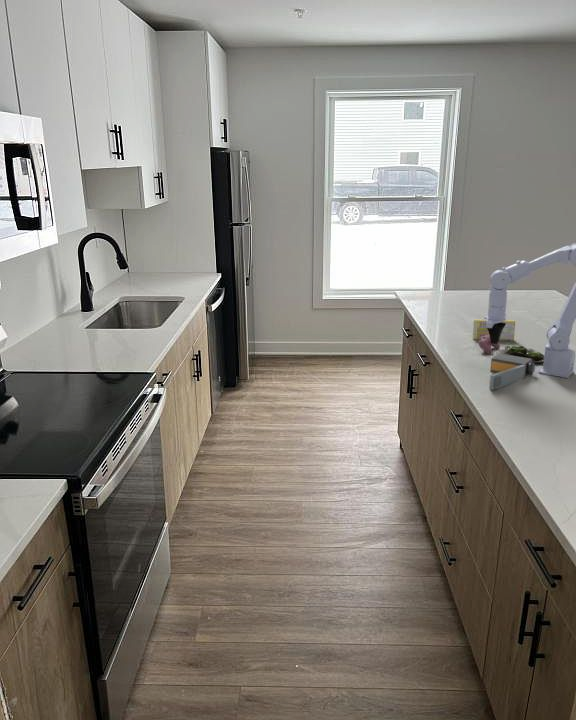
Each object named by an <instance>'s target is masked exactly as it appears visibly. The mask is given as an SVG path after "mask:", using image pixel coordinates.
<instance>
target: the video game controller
mask: <svg viewBox="0 0 576 720" xmlns="http://www.w3.org/2000/svg"><path fill="white" fill-rule="evenodd" d="M478 346H479V348H480V349H481V350H482V351H484V352H485V353H486V354H488V355H492V354H493V349H492V347H493V348H494V349H496V350H500V348H501V346H500V343H499V342H498V343H497V344H493V343H491V341H490V335H489V336H488V335H485V336H483V337H481V339H478Z"/></svg>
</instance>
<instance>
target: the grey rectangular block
mask: <svg viewBox="0 0 576 720" xmlns="http://www.w3.org/2000/svg"><path fill="white" fill-rule="evenodd" d="M523 364H525V365H526V372H525V378H527V376H528V375H533V374H534V373H535V371H536V365H535V364H534V363H532V359H530V358H524V357H518V356H512V355H506V354H500V353H499V354H497V353H496V355H494V356H493V357H492V358H491V362H490V373H493V372H494V373H493V374H495V373H498V372H501V371H504V370H508V369H511V368H514V367H517V366H520V365H523Z"/></svg>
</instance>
